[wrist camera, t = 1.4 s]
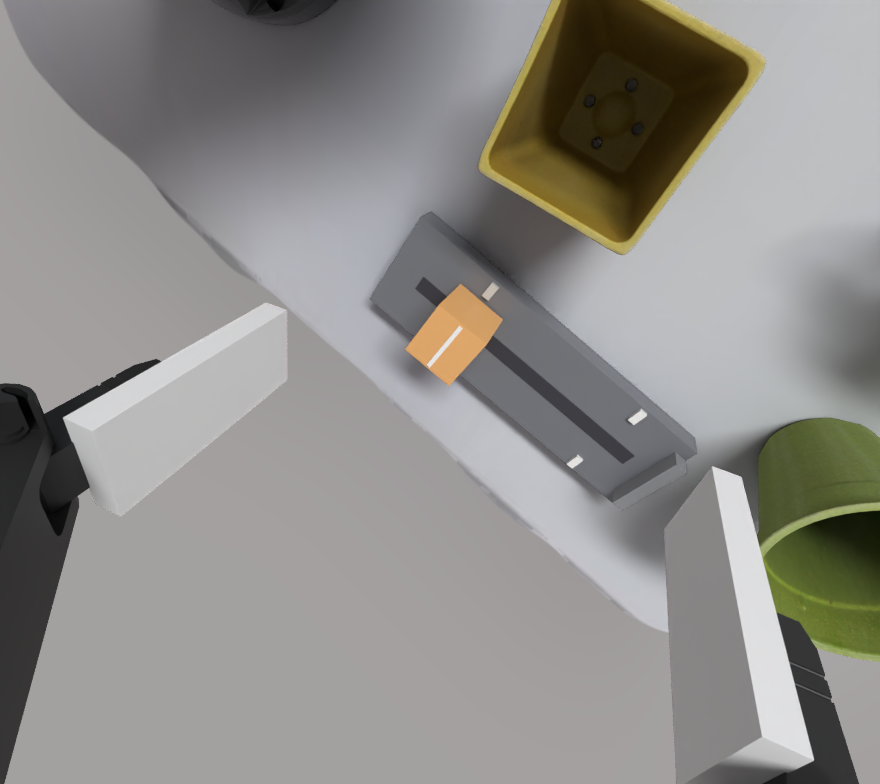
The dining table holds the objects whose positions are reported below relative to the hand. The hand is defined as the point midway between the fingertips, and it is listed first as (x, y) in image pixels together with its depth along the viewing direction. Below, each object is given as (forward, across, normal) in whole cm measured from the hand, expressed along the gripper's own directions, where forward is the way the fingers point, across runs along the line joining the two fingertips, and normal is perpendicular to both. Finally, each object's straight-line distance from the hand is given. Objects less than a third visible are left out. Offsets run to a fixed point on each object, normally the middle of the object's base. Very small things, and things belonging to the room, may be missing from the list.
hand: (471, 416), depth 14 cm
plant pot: (+22, +22, -10) cm, 32 cm away
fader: (+20, -5, -7) cm, 22 cm away
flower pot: (+23, 0, +7) cm, 24 cm away
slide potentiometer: (+22, +1, -10) cm, 24 cm away
